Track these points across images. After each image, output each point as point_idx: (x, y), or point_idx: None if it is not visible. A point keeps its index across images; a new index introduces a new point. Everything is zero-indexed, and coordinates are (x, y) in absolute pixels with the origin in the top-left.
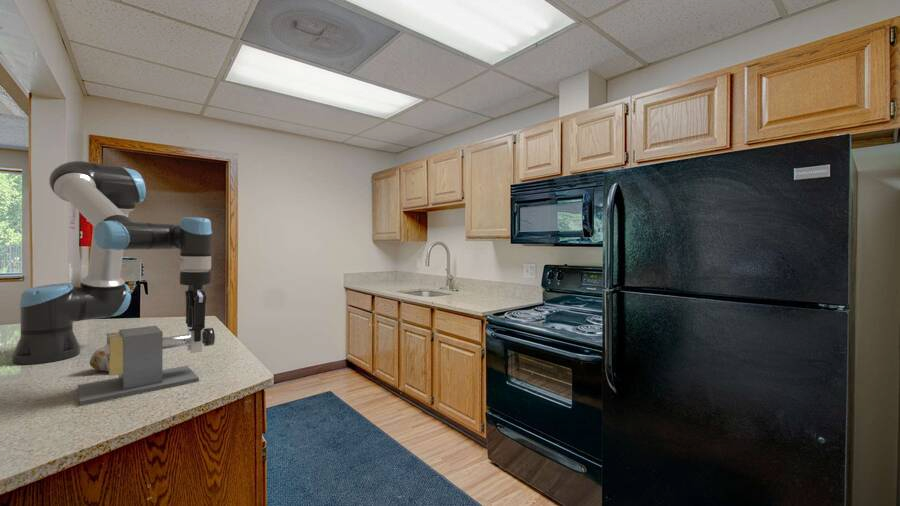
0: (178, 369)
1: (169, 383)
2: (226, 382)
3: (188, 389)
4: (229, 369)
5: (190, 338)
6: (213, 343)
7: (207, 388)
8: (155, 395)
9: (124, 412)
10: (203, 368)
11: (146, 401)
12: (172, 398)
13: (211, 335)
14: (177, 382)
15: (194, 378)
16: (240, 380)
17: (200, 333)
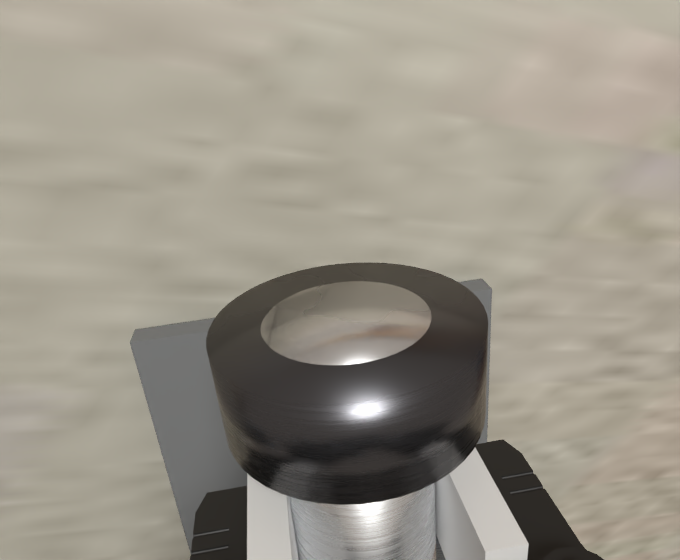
0: (212, 391)
1: (486, 424)
2: (630, 131)
3: (583, 332)
4: (335, 51)
5: (434, 548)
6: (419, 274)
7: (646, 246)
8: (554, 454)
9: (663, 524)
10: (185, 230)
11: (604, 477)
12: (653, 394)
13: (486, 358)
14: (488, 390)
15: (488, 312)
16: (665, 34)
17: (560, 520)
